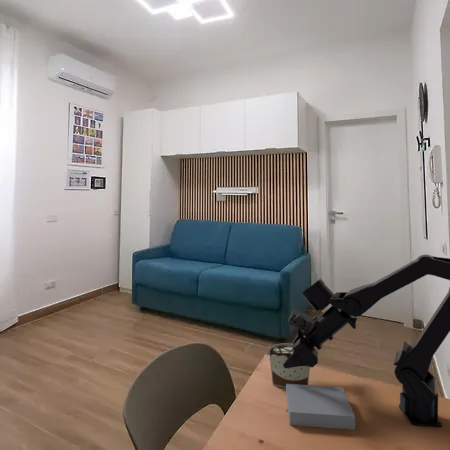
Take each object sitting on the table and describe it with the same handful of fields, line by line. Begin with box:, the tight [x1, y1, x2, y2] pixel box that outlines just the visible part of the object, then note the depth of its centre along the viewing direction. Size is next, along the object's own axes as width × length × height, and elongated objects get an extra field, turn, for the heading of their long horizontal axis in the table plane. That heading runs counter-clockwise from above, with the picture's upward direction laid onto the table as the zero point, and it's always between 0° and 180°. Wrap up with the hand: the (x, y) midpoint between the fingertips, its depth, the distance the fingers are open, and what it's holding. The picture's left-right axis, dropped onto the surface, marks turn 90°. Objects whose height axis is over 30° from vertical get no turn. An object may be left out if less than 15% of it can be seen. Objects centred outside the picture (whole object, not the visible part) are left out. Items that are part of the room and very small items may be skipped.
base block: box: [285, 384, 356, 431], centre depth 71 cm, size 14×11×3 cm
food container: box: [267, 342, 311, 389], centre depth 83 cm, size 12×6×10 cm, turn 67°
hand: (286, 358), depth 83 cm, fingers open, 9 cm apart
